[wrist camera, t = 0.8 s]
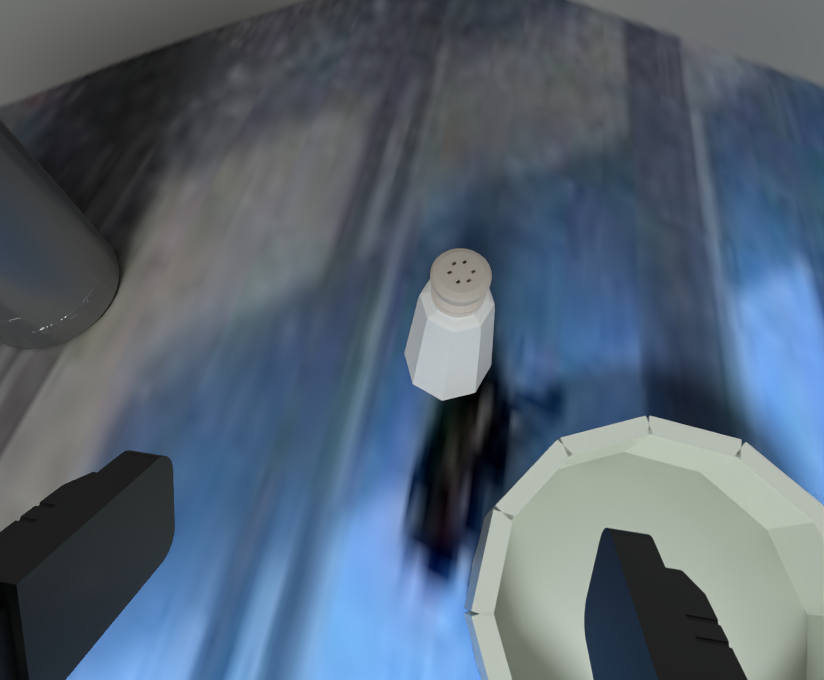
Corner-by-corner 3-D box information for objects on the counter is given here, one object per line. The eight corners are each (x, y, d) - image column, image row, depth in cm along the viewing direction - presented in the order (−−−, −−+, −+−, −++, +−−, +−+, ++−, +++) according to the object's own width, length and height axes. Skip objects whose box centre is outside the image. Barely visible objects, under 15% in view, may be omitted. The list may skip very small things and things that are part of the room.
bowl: (397, 608, 31) (394, 612, 26) (608, 383, 36) (638, 353, 31) (678, 929, 26) (737, 1004, 21) (879, 615, 31) (962, 619, 26)
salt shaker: (386, 351, 36) (377, 261, 26) (454, 305, 38) (470, 202, 28) (439, 419, 35) (451, 350, 25) (508, 368, 36) (546, 282, 26)
